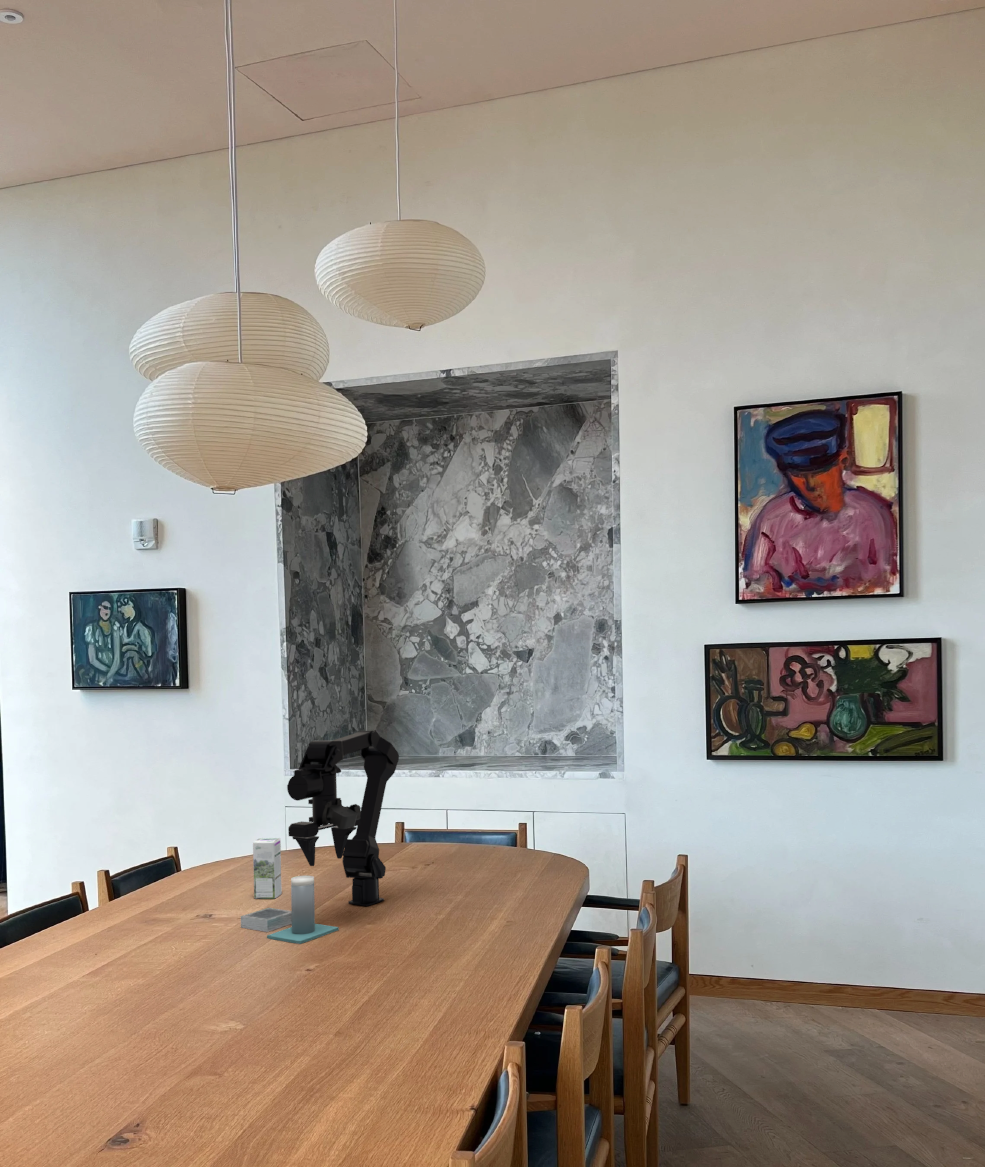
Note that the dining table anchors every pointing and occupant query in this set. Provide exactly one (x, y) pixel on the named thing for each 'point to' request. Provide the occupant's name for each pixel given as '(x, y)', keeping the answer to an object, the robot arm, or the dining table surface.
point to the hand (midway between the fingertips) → (325, 862)
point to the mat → (302, 938)
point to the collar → (266, 919)
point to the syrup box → (267, 868)
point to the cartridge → (302, 904)
